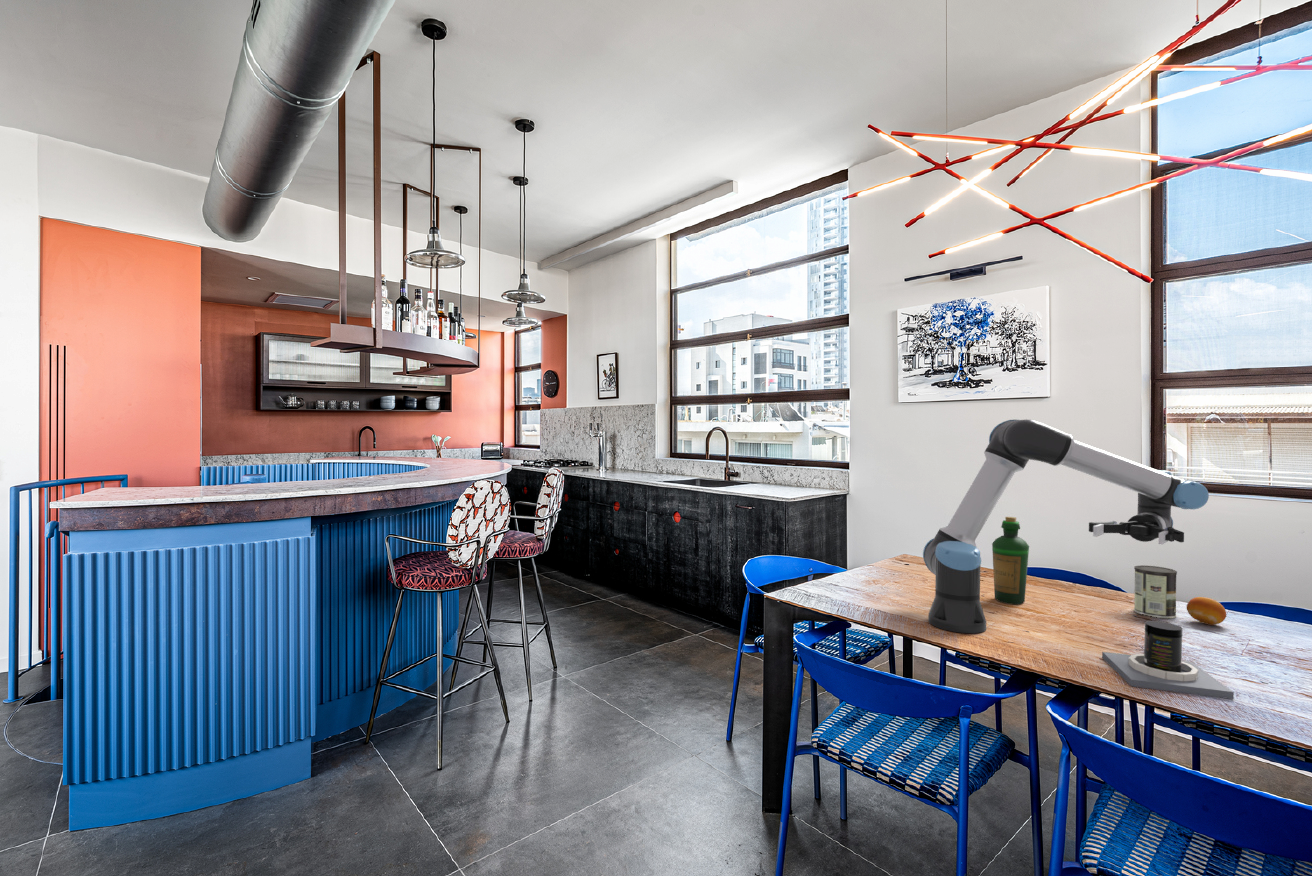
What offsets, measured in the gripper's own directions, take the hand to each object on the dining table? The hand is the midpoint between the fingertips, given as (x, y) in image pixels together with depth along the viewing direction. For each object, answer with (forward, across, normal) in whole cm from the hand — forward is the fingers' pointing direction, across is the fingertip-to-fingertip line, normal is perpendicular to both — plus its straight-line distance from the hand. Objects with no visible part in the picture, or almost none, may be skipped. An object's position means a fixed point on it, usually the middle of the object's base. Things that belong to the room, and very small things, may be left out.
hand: (1126, 535), depth 156 cm
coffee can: (-47, +2, -30) cm, 56 cm away
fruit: (-46, -10, -30) cm, 56 cm away
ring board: (+14, -10, -30) cm, 35 cm away
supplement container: (+14, -10, -29) cm, 33 cm away
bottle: (-26, +36, -30) cm, 54 cm away
